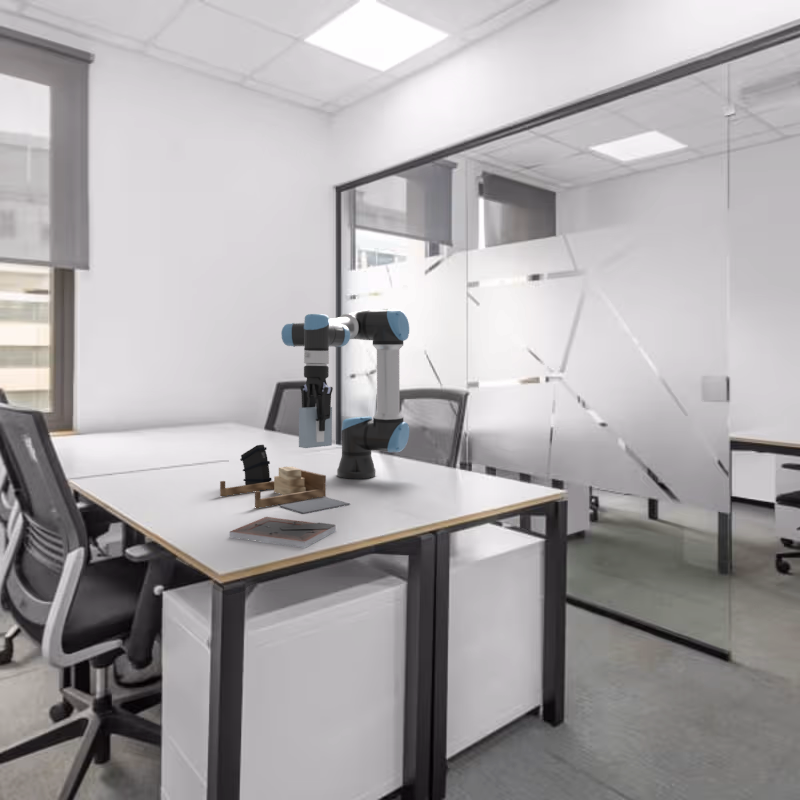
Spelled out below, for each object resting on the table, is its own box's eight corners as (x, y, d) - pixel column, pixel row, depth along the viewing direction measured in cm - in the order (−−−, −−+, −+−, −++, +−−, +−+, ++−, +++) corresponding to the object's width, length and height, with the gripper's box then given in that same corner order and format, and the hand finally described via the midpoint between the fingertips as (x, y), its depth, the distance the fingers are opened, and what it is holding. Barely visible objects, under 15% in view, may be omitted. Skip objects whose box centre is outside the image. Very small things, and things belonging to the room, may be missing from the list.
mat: (326, 498, 203) (326, 497, 203) (349, 504, 194) (349, 503, 194) (279, 506, 190) (279, 505, 190) (303, 513, 181) (303, 512, 181)
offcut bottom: (289, 491, 214) (289, 482, 214) (305, 496, 207) (305, 487, 207) (274, 493, 210) (274, 485, 210) (290, 498, 203) (290, 489, 203)
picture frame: (335, 533, 164) (265, 524, 172) (335, 524, 164) (266, 515, 171) (304, 551, 149) (229, 540, 156) (304, 540, 148) (229, 530, 156)
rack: (286, 486, 221) (287, 466, 221) (325, 496, 205) (325, 475, 205) (220, 496, 203) (220, 475, 202) (257, 508, 187) (257, 485, 186)
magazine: (268, 486, 212) (256, 445, 215) (247, 497, 220) (236, 457, 223) (277, 484, 215) (265, 444, 218) (256, 495, 223) (245, 456, 226)
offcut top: (292, 475, 213) (292, 466, 212) (301, 478, 207) (301, 469, 207) (278, 476, 210) (278, 467, 210) (287, 479, 204) (287, 470, 204)
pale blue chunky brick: (324, 444, 196) (325, 406, 195) (331, 445, 193) (332, 407, 192) (298, 447, 188) (299, 407, 188) (305, 448, 186) (305, 408, 185)
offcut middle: (289, 483, 214) (289, 474, 214) (304, 486, 208) (304, 478, 207) (274, 485, 210) (274, 476, 210) (289, 489, 203) (289, 480, 203)
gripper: (290, 364, 192) (289, 439, 194) (323, 365, 181) (322, 444, 182) (309, 364, 198) (309, 437, 199) (343, 365, 186) (342, 442, 188)
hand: (315, 440), depth 191 cm, fingers closed on pale blue chunky brick, 3 cm apart
